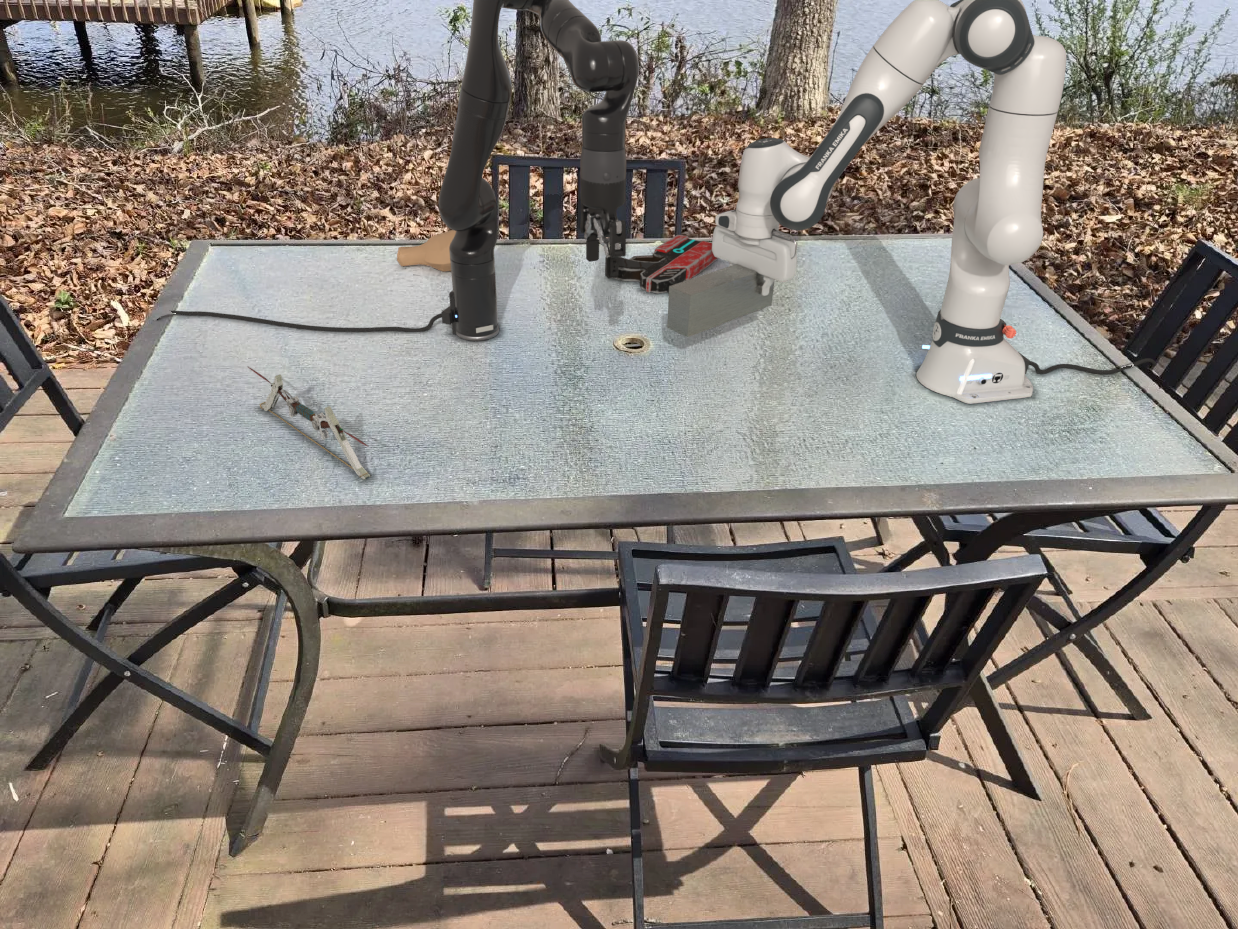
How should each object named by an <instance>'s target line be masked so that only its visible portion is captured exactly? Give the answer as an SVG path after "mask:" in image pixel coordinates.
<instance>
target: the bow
mask: <svg viewBox="0 0 1238 929" xmlns="http://www.w3.org/2000/svg"><path fill="white" fill-rule="evenodd" d="M247 368H248V369H249V370H250V371H252V372H253V373H254V374H256V375H257V376H259V377H260V378H261V379H263V380H264V381H266V382H267V383H268V384H270V393H269V394H268V395H267V397H266V399H265V401H263V402H261V403H259V404H258V405H259V408H260V409H261V410H263V411H265V412H267V411H268V412H270V413H272V414H273V415H274V416H276V417H277V418H278V419H280V420H281V421H283V422H284V423H286V424H287V425H288V426H290V427H291V428H293V429H295V431H297V432H298V433H301V435H303V436H305V437H306V438H307V439H309V440H310V441H312V442H313V443H315V444H316V445H317V446H319V447H320V448H322V449H323V450H325V451H326V452H328V453H329V454H330V455H332V456H333V457H334V458H336V459H337V460H339V461H341V462H342V463H343V464H345V465H346V466H348V467H349V468H350V469H351V470H354V472H355V473H356V475H357V476H358V477H359V478H361V479H362V480H366V479H367V478H370V477H371V474H370V473H369V472H368V471H367V470H366V469H365V468H364V466H362V464H361V463H360V461H359V458H358V455H357V454H356V452H355V451H354V449H353V447H352V445H351V444H350V442H349V440H348V438H347V435H348V436H349V437H351V439H353V440H355V441H357V442H358V443H359V444H362V445H364V446H366V447H367V448H369V447H370V445H369V444H368V443H366V442H364V441H363V440H361V439H360V438H358V437H356V436H355V435H353V433H352V434H351V433H350V432H348V431H345V430H344V428H343V427H342V425H341V424H340V422H339V420H338V418H337V417H336V415H335V413H334V411H333V408H332V407H331V406H330V405H328V406H326V407H324V412H320V413H318V414H316V413H315V411H314V410H312V409H311V408H309V407H308V406H307V405H305V404H303V403H301V402H300V398H299V396H298V395H295V396H294V397H293V396H292V394H290V392H289V391H288V390H286V389H284V381H283V377H282V374H277V375H275V376H274V380H273V382H271V381H270V380H269V379H267V377H265V376H263V375H262V374H260V373H259V372H257V371H256V370H255V369H253V368H252V367H251V366H248V365H247ZM280 397H281V398H282V399H283V401H285V403H286V406H287V407H288V417H290V418H291V419H292V418H294V417H298V414H299V415H300V416H301V417H303V418H304V419H306V420H307V421H309V422H311V426H312V428H313V429H314V430H315V431H319V435H320V439H322V440H323V441H325V440H327V439H329V438H330V435H329V431H328V429H331V431H332V433H333V434H334V437H335V439H336V440H337V442H338V444H339V446H340V449H341V450H342V452H343V454H344V455H345V457H346V459H347V462H348V463H349V464H348V463H347V462H346V461H344V460H343V459H341V458H340V457H338V456H337V455H336V454H334V453H333V452H331V451H330V450H328V449H327V448H326V447H324V446H322V445H321V444H320V443H318V442H316V441H315V440H314V439H312V438H311V437H309V436H308V435H307V434H305V433H304V432H302V431H301V430H299V429H298V428H296V426H294V425H292V424H291V423H289V422H288V421H286V420H285V419H283V418H282V417H281V416H279V415H278V414H277V413H275V412H273V411H272V409H273V408H275V407H276V404H277V403H278V402H279V398H280ZM322 429H323V430H322Z"/></svg>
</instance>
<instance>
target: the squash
mask: <svg viewBox="0 0 1238 929" xmlns="http://www.w3.org/2000/svg"><path fill="white" fill-rule="evenodd" d="M455 234H456V231H454V230H452V229H450V230H447V231H444V232H442V233H441V232H440V233H436V234H433V235H432V236H431V237H429V238H428V239H427V241H425V242H424V243H422V244H420V245H411V246H399V247H398V250H397V253H396V261H397V263H398V264H399V265H400V266H401V267H407V266H416V265H418V266H419V265H422V266H427V267H431V268H433V269H435V270H438V271H440V272H442V273H443V272H451V264H450V253H449V246H450V243H451V241H452V240H453V238H454V236H455Z"/></svg>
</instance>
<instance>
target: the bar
mask: <svg viewBox="0 0 1238 929" xmlns="http://www.w3.org/2000/svg"><path fill="white" fill-rule="evenodd" d="M764 283H765V280H764V275H761V274H759V273H758V272H757V271H754V270H751V269H749V268H746V267H743V266H741V265H738V264H735V265H732V266H729V265H728V266H726V267H723V268H720V269H718V270H713V271H711V272H708V273H705V274H702V275H699V276H695V277H693V278H691V279H690V280H687V281H684V282H681V283H678V284H675V285H672V286H669V293H668V300H667V302H668V303H667V322H666V328H667V329H669V330H671V331H672V332H675V333H677V334H680V335H682V336H683V337H686V338H690V337H693V336H695V335H698V334H700V333H704V332H705V331H708V330H711V329H714V328H716V327H719V326H721V325H724V324H726V323H729V322H732V321H735V320H737V319H740V318H743V317H745V316H747V315H750V314H752V313H755V312H758V311H760V310H763V309H765V308H768V307H771V306H772V305H773V296H774V289H775V288H774V287H775V281H774V282H773V283H772V285H771V286H770V289H769V294H768V295H766V296H763V295H761V294H759V293H758V291H759V286H761V285H763V284H764Z"/></svg>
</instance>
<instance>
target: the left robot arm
mask: <svg viewBox="0 0 1238 929" xmlns="http://www.w3.org/2000/svg"><path fill="white" fill-rule="evenodd" d="M502 9H508V10H515V11H529V12H532V13H533V14H536V15H537V16H538V17H539V24H540V25H539V27H540V31H541V34H542V36H543V38H544V39H545V41H546V43H547V44H548V45H549V46H550V47H551V48H552V49H553V50H554V51H555V52H556V53H557V54H558V55H559V56H560V57H561V58H562V59H563V62H564V64H565V65H566V68H567V71H568V72H569V76H570V78H571V80H572V82H573V84H574V86H576V88H578V89H579V90H581V91H582V92H586V93H592V94H593V93H602V92H605V93H604V95H603V98H602V99H601V101H600V102H599V103H596V104H594V105H592V106H590V107H588V108H586V109H585V110H584V111H583V113H582V118H581V154H580V162H579V163H580V167H579V168H580V171H579V172H580V173H579V174H580V177H579V178H580V180H579V181H580V186H579V190H580V191H579V192H580V193H579V194H580V195H579V196H580V198H579V199H580V220H579V221H580V222H579V223H580V226H579V231H580V233H581V234H583V237H584V240H585V250H586V251H585V259H586V260H587V262H589V263H592V262H598V261H599V259H600V246H602V247H603V250H604V255H605V256H604V260H605V261H604V264H605V265H604V276H605V278H606V279H614V278H616V277H618V272H619V257H626V254H627V222H626V220H625V219H621V220H619V218H618V212H617V210H618V209H619V208H620V207H622V206H624V204H625V203H626V187H627V155H626V154H627V153H626V137H627V136H626V135H627V134H626V133H627V132H626V131H627V119H628V115H629V112H630V108H631V105H632V102H633V101H632V100H633V97H634V94H635V90H636V87H637V83H638V79H639V72H640V65H639V64H640V63H639V58H638V57H639V56H638V54H637V51H636V50H635V47H633V45H632V44H631V43H630V42H629V41H626V40H621V39H618V40H617V39H616V40H604V41H602V36H601V32H600V30H599V29H598V27H597V25H595V24H594V23H593V22H592V21H591V20H590V19H589V18H588V17H587V16H586V15H585V14H584V13H583V12H582V11H581V10H580V9H578V8H577V7H576V5H574V4H573V3H572V2H571V1H570V0H473V2H472V13H471V24H470V34H469V40H468V47H467V54H466V59H465V60H466V61H465V66H464V71H463V76H462V81H461V86H460V91H459V97H458V103H457V104H458V105H457V113H456V119H455V125H454V129H453V136H452V142H451V148H450V154H449V158H448V163H447V166H446V170H445V173H444V177H443V179H442V183H441V187H440V191H439V194H438V199H437V200H438V201H437V202H438V205H437V207H438V212H439V215H440V216H439V217H440V218H441V220H442V222H443V223H444V225H445V226H446V227H447V228H449V229H450V230H454V231H456V234H455V236H454V238H453V240H452V241H451V243H450V246H449V253H450V264H451V271H450V275H451V276H450V277H451V286H452V290H451V291H450V292H448V297H449V306H447V307H445V309H443V310H442V311H441V312H440V313H438V314H436V315H434V316H432V317H431V318H430V320H429V322H428V324H427V325H425V326H423V327H418V328H417V327H416V328H412V327H411V328H410V327H402V326H374V327H337V326H336V327H334V326H322V325H321V326H319V325H310V324H309V325H307V324H299V323H293V322H285V321H277V320H271V319H265V318H259V317H252V316H245V315H237V314H230V313H222V312H214V311H198V310H197V311H190V310H189V311H186V310H170V311H171V312H172V313H176V314H173V315H172V316H189V317H192V316H193V317H194V316H199V317H200V316H201V317H202V316H203V317H212V318H213V317H214V318H223V319H231V320H238V321H246V322H252V323H259V324H266V325H271V326H277V327H284V328H293V329H300V330H308V331H318V332H319V331H320V332H337V333H371V332H373V333H374V332H403V333H423V332H427V331H429V330H430V329H431V328H432V327H433V325H434V324H435V322H436V321H437V320H439V319H441V322H442V324H443V325H449V326H450V325H451V332H452V334H453V335H456V336H457V337H458V338H460V339H462V340H464V341H470V342H479V341H481V342H482V341H486V340H487V341H488V340H491V339H493V338H494V337H495V338H496V337H497V335H499V333H500V326H499V312H498V311H499V310H498V296H497V295H498V294H497V293H498V292H497V276H496V275H497V274H496V261H495V259H496V258H495V248H496V245H497V241H498V205H497V198H496V194H495V191H494V189H493V187H492V185H491V184H490V183H489V182H488V181H487V180H486V179H485V178H483V175H484V172H485V169H486V165H487V164H488V161H489V159H490V157H491V155H492V153H493V152H494V150H495V147H496V146H497V143H498V142H499V139H500V137H501V135H502V134H503V131H504V129H505V126H506V123H507V119H508V115H509V109H510V105H511V100H512V94H513V84H512V79H511V75H510V72H509V69H508V66H507V64H506V60H505V58H504V54H503V52H502V49H501V46H500V40H499V23H500V17H501V16H500V14H501V11H502Z"/></svg>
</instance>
